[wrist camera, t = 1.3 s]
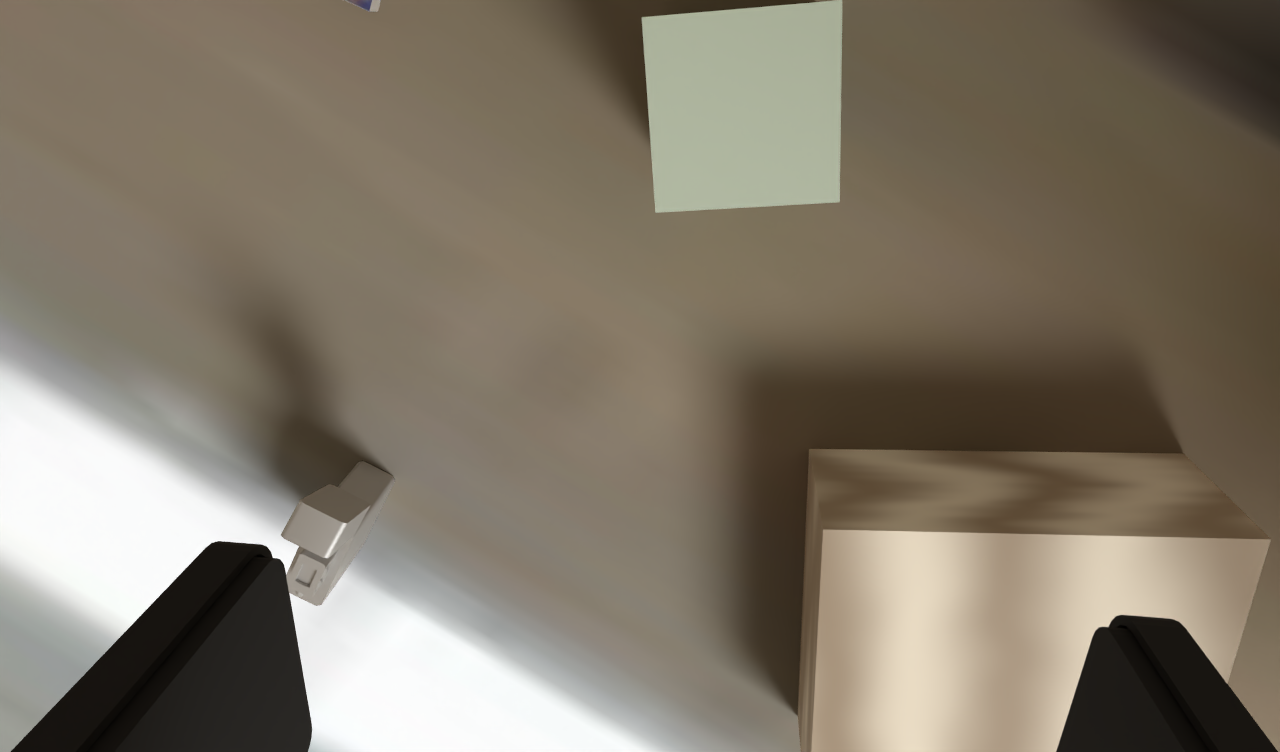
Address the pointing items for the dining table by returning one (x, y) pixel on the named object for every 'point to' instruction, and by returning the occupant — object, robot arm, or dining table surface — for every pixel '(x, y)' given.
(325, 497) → the lighter
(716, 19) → the sage block
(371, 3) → the relief map
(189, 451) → the dining table surface
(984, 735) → the birch block
